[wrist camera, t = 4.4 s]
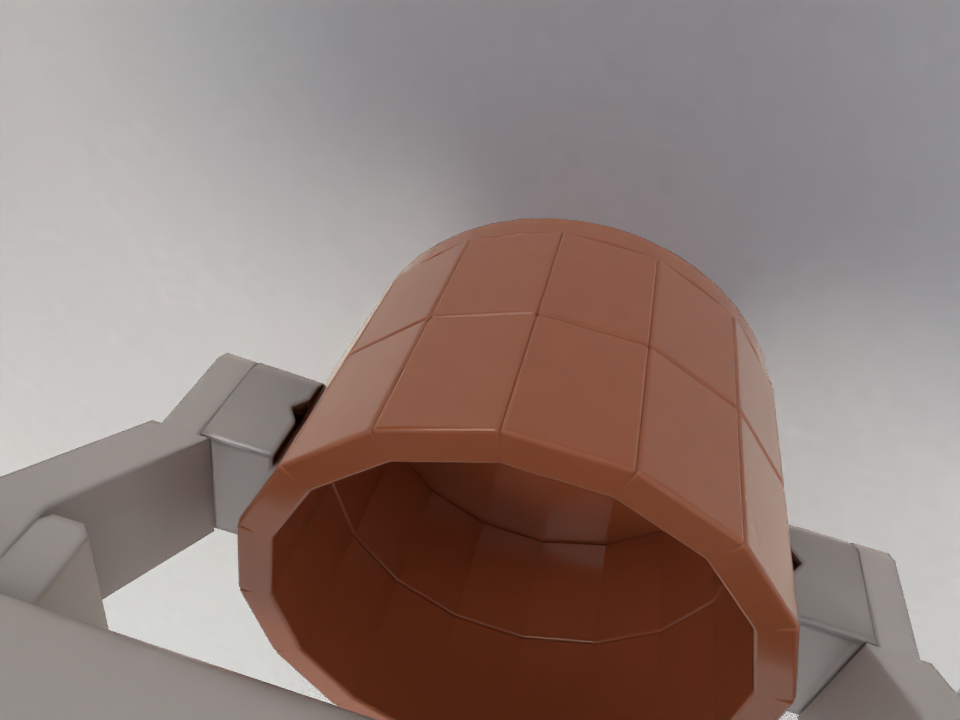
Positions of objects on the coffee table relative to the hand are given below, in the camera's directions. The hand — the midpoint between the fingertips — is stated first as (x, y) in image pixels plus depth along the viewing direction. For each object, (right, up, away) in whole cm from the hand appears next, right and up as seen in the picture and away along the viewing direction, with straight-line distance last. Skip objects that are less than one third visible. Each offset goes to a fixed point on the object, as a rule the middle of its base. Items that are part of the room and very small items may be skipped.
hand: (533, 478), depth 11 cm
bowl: (0, +1, +1) cm, 2 cm away
